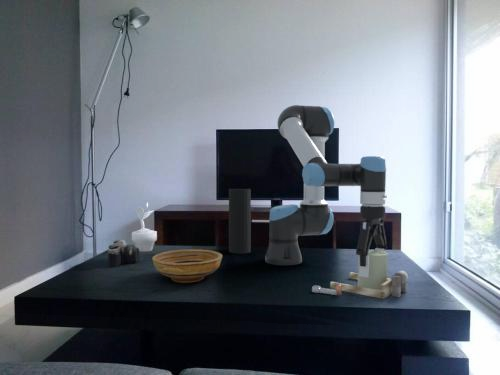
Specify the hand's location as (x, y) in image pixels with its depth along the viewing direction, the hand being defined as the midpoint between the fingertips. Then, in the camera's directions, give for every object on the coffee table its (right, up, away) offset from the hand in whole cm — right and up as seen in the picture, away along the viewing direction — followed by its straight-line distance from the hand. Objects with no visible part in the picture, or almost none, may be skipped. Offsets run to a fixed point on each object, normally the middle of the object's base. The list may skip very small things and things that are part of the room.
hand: (372, 272), depth 118 cm
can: (0, -5, 0) cm, 5 cm away
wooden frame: (0, -5, 0) cm, 5 cm away
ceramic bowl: (-61, -5, +12) cm, 62 cm away
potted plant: (-88, -4, +58) cm, 106 cm away
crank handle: (-15, -5, -4) cm, 17 cm away
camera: (-90, -5, +34) cm, 96 cm away
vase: (-44, -4, +56) cm, 71 cm away
